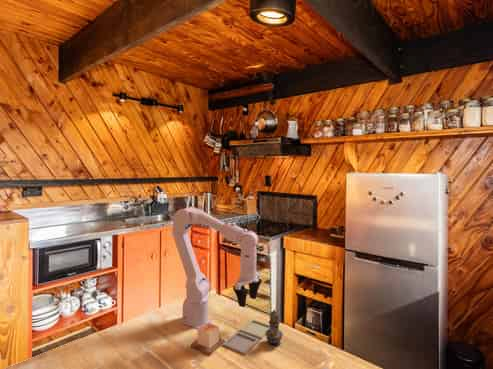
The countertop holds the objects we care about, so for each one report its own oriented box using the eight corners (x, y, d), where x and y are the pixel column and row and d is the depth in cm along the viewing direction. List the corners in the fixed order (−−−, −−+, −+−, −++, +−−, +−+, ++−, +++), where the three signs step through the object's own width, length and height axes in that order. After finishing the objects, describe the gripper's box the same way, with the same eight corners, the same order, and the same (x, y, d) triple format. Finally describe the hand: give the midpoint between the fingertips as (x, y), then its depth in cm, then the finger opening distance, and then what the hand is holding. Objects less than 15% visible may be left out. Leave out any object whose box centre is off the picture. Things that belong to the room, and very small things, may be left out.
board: (190, 346, 97) (190, 344, 97) (206, 335, 104) (206, 332, 104) (209, 355, 93) (209, 352, 93) (224, 343, 100) (224, 340, 100)
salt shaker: (281, 350, 96) (282, 314, 96) (264, 347, 97) (264, 312, 97) (283, 339, 102) (283, 306, 102) (266, 337, 103) (266, 304, 103)
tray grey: (222, 346, 98) (222, 343, 98) (237, 333, 105) (237, 331, 105) (245, 356, 93) (245, 353, 93) (259, 342, 101) (259, 339, 101)
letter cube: (197, 343, 97) (197, 328, 97) (207, 336, 102) (207, 321, 101) (209, 348, 95) (209, 333, 94) (218, 341, 99) (219, 326, 99)
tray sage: (239, 331, 107) (239, 329, 107) (252, 321, 114) (252, 318, 114) (261, 339, 102) (261, 337, 102) (273, 328, 109) (273, 325, 109)
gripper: (247, 273, 98) (246, 313, 99) (267, 262, 111) (266, 297, 111) (229, 269, 102) (229, 307, 103) (251, 258, 114) (250, 293, 115)
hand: (247, 302), depth 107 cm, fingers open, 7 cm apart
